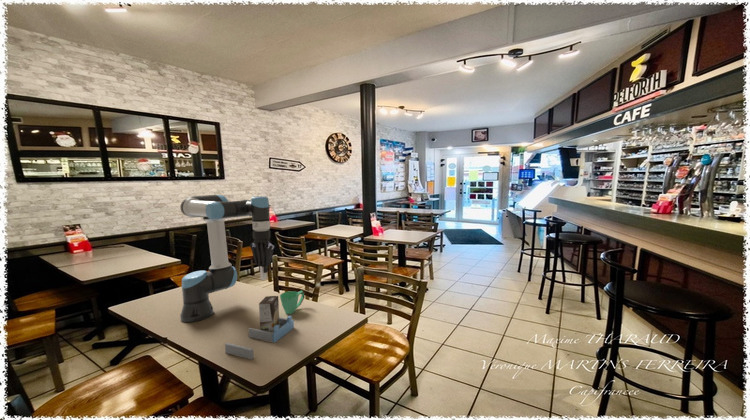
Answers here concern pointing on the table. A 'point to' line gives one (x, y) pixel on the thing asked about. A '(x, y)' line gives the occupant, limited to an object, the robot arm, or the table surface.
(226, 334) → the table surface
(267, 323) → the coffee box
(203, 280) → the robot arm
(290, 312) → the mug
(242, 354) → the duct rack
